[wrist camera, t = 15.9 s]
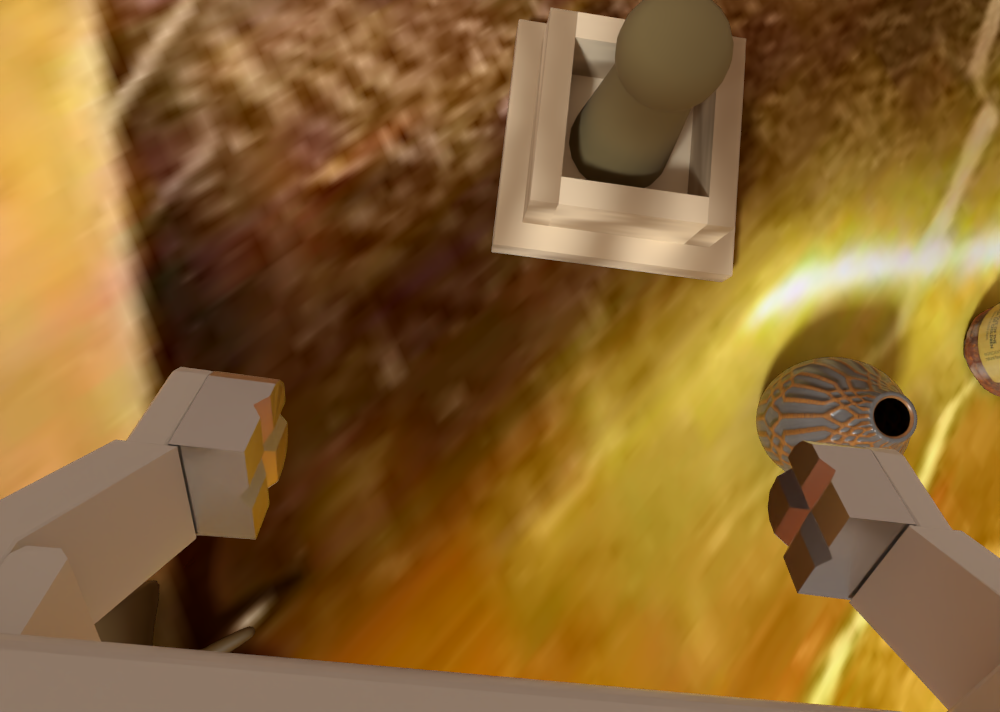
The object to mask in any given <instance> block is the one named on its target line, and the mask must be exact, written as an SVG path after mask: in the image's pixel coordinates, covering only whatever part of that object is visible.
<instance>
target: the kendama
mask: <svg viewBox="0 0 1000 712" xmlns="http://www.w3.org/2000/svg"><path fill="white" fill-rule="evenodd" d="M158 598H159V584H158V583H157V581H147V582H144V583H143V584H142V585H140V586H139V587H138V588H137V589H136V590H134V591H133V592H132V593H131V594H130V595H128V596H127V597H126V598H125V599H124V600H123V601H121V602H120V603H119V604H118V605H117V606H115V607H114V608H113V609H112V610H111V611H109V612H108V613H107V614H106V615H105V616H104V617H102V618H101V619H100V620H99V621H98V622H96V623H95V624H94V625H95V628H96V630H97V633H98V635H99V638H100V640H101V642H113V643H124V644H136V645H147V646H153V644H152V640H153V630H154V623H155V617H156V611H157V605H158ZM254 633H255V629H254V628H253V627H246V628H244V629H241V630H239V631H237V632H235V633H233V634H231V635H229V636H227V637H225V638H222V639H220V640H219V641H217V642H215V643H213V644H211V645H209V646H207V647H205V648H203V649H201V650H204V651H215V652H227V653H229V652H231V651H232V650H234V649H235V648H237V647H238V646H240V645H241V644H243V643H244V642H246V641H247V640H249V639H250V638H251V637H252V636H253V635H254Z"/></svg>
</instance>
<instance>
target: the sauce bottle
mask: <svg viewBox="0 0 1000 712" xmlns="http://www.w3.org/2000/svg"><path fill="white" fill-rule="evenodd" d="M964 344H965V346H964V358H965V359H966V361H967V364H968V366H969V368H970V370H971V372H972V373H973V374H974V376H975V378H976V379H977V380H978V381H979V383H980V385H982V386H983V388H984V389H986V390H988V391H989V392H990V393H992V394H994V395H997V396H1000V303H999V304H997V305H996V306H994V307H991V308H989V309H987V310H985V311H984V312H982V313H980V314H979V315H978V316H976V317H975V319H974V320H973V322H972V324H971V325H970V327H969V330H968V332H967V335H966V339H965V342H964Z"/></svg>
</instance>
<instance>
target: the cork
mask: <svg viewBox="0 0 1000 712" xmlns="http://www.w3.org/2000/svg"><path fill="white" fill-rule="evenodd" d="M733 46H734V42H733V37H732V33H731V29H730V24H729V21H728V20H727V18H726V16H725V14H724V13H723V11H722V9H721V8H720V7H719V6H718V5H717V4H715V3H714V2H713V1H712V0H642V1H641V2H640V3H639V4H638V5H637V6H636V7H635V8H634V9H633V10H632V11H631V12H630V13H629V14H628V16H627V18H626V19H625V21H624V23H623V25H622V27H621V29H620V32H619V34H618V37H617V43H616V50H615V64H614V65H613V67H612V68H611V70H610V71H609V72H608V74H607V75H606V77H605V78H604V79H603V81H602V82H601V83H600V85H599V86H598V88H597V89H596V90H595V92H594V93H593V94H592V96H591V97H590V99H589V100H588V101H587V103H586V104H585V106H584V107H583V108H582V110H581V111H580V112H579V114H578V115H577V117H576V119H575V121H574V123H573V125H572V127H571V131H570V139H569V146H570V152H571V157H572V160H573V161H574V163H575V165H576V167H577V169H578V171H579V172H580V173H581V174H582V175H583V176H584V177H585V178H586V179H587V180H589V181H596V182H603V183H611V184H618V185H625V186H632V187H639V188H646V187H648V186H650V185H651V184H652V183H653V182H654V181H655V180H656V179H657V178H658V177H659V176H660V175H661V174H662V172H663V170H664V168H665V166H666V164H667V162H668V160H669V157H670V155H671V153H672V151H673V149H674V146H675V144H676V142H677V140H678V138H679V135H680V133H681V131H682V129H683V126H684V124H685V122H686V120H687V118H688V115H689V113H690V111H691V109H692V107H694V106H696V105H698V104H700V103H702V102H704V101H705V100H706V99H707V98H708V97H709V96H710V95H711V94H712V93H713V92H715V91H716V90H717V88H718V87H719V86H720V85H721V83H722V82H723V80H724V78H725V76H726V74H727V72H728V70H729V68H730V65H731V61H732V56H733Z"/></svg>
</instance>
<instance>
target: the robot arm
mask: <svg viewBox="0 0 1000 712" xmlns="http://www.w3.org/2000/svg"><path fill="white" fill-rule="evenodd" d="M284 403H285V391H284V384H283V383H282V382H281V381H280V380H276V379H269V378H262V377H255V376H248V375H240V374H233V373H226V372H219V371H214V372H212V371H207V370H200V369H192V368H185V367H180V368H178V369H176V370H175V371H173V372H172V373H171V375H170V376H169V378H168V379H167V380H166V382H165V383H164V385H163V386H162V388H161V389H160V391H159V392H158V394H157V395H156V397H155V398H154V400H153V401H152V403H151V404H150V406H149V407H148V409H147V410H146V412H145V413H144V415H143V416H142V418H141V419H140V421H139V422H138V424H137V425H136V427H135V428H134V430H133V431H132V433H131V434H130V436H129V437H128V439H127V440H126V441H122V440H114V441H112V442H110V443H108V444H106V445H105V446H103V447H101V448H99V449H97V450H95V451H93V452H91V453H89V454H87V455H85V456H84V457H82V458H80V459H78V460H76V461H74V462H72V463H70V464H68V465H66V466H64V467H62V468H61V469H59V470H57V471H55V472H53V473H51V474H49V475H47V476H45V477H43V478H41V479H39V480H38V481H36V482H34V483H32V484H30V485H28V486H26V487H24V488H22V489H20V490H18V491H17V492H15V493H13V494H11V495H9V496H7V497H5V498H3V499H1V500H0V712H900V711H888V710H877V709H865V708H854V707H843V706H831V705H819V704H808V703H796V702H785V701H773V700H762V699H750V698H738V697H727V696H715V695H704V694H692V693H681V692H669V691H657V690H646V689H634V688H623V687H612V686H600V685H589V684H578V683H567V682H555V681H544V680H533V679H522V678H510V677H499V676H488V675H477V674H465V673H454V672H443V671H431V670H420V669H409V668H397V667H386V666H374V665H363V664H352V663H340V662H329V661H318V660H306V659H295V658H283V657H272V656H261V655H249V654H238V653H227V652H215V651H204V650H192V649H181V648H170V647H158V646H147V645H136V644H124V643H113V642H101V640H100V638H99V635H98V633H97V630H96V628H95V625H94V624H95V623H96V622H98V621H99V620H100V619H101V618H102V617H104V616H105V615H106V614H107V613H108V612H109V611H111V610H112V609H113V608H114V607H115V606H117V605H118V604H119V603H120V602H121V601H123V600H124V599H125V598H126V597H127V596H128V595H130V594H131V593H132V592H133V591H134V590H136V589H137V588H138V587H139V586H140V585H142V584H143V583H144V582H145V581H146V580H147V579H149V578H150V577H151V576H152V575H153V574H155V573H156V572H157V571H158V570H159V569H161V568H162V567H163V566H164V565H165V564H166V563H168V562H169V561H170V560H171V559H172V558H174V557H175V556H176V555H177V554H178V553H180V552H181V551H182V550H183V549H184V548H185V547H187V546H188V545H189V544H190V543H191V542H193V541H194V540H195V539H196V535H203V536H217V537H231V538H245V539H256V537H257V534H258V532H259V529H260V527H261V524H262V521H263V519H264V516H265V514H266V511H267V509H268V506H269V496H268V488H269V487H270V486H272V485H273V484H275V483H276V482H277V481H278V480H279V477H280V474H281V471H282V468H283V465H284V460H285V455H286V450H287V439H288V429H287V422H286V420H285V419H284V418H283V417H282V416H281V415H280V413H281V410H282V408H283V405H284ZM788 459H789V462H790V465H791V469H789V470H788V471H786V472H784V473H783V474H781V475H779V476H778V477H777V478H776V480H775V482H774V484H773V486H772V488H771V490H770V494H769V502H768V513H769V520H770V523H771V526H772V528H773V531H774V534H775V535H777V536H778V537H779V538H780V539H781V540H782V541H783V542H784V543H785V544H786V545H787V546H788V548H787V550H786V552H785V554H784V560H785V562H786V565H787V568H788V570H789V573H790V575H791V578H792V580H793V583H794V585H795V588H796V590H797V593H800V594H808V595H816V596H824V597H831V598H839V599H847V600H851V601H850V602H849V603H850V604H851V605H852V606H853V607H854V608H855V609H856V610H857V611H858V612H859V613H860V614H861V616H862V617H863V618H864V619H865V620H866V621H867V622H868V623H869V624H870V625H871V626H872V627H873V629H874V630H875V631H876V632H877V633H878V634H879V635H880V636H881V637H882V638H883V639H884V640H885V642H886V643H887V644H888V645H889V646H890V647H891V648H892V649H893V650H894V651H895V652H896V654H897V655H898V656H899V657H900V658H901V659H902V660H903V661H904V662H905V663H906V664H907V665H908V667H909V668H910V669H911V670H912V671H913V672H914V673H915V674H916V675H917V676H918V677H919V678H920V680H921V681H922V682H923V683H924V684H925V685H926V686H927V687H928V688H929V689H930V690H931V691H932V693H933V694H934V695H935V696H936V697H937V698H938V699H939V700H940V701H941V702H942V703H943V705H944V706H945V707H946V708H947V709H948V711H947V712H1000V558H999V557H997V556H996V555H994V554H993V553H992V552H990V551H989V550H987V549H986V548H985V547H983V546H982V545H981V544H979V543H978V542H976V541H975V540H974V539H972V538H971V537H969V536H968V535H967V534H965V533H964V532H963V531H957V530H952V529H951V527H950V526H949V524H948V523H947V521H946V520H945V518H944V517H943V515H942V513H941V512H940V510H939V509H938V507H937V506H936V504H935V503H934V501H933V500H932V498H931V497H930V495H929V494H928V492H927V491H926V489H925V488H924V486H923V485H922V483H921V482H920V480H919V478H918V477H917V475H916V474H915V472H914V471H913V469H912V468H911V466H910V465H909V463H908V462H907V460H906V459H905V457H904V456H903V455H902V454H901V453H899V452H898V451H896V450H895V449H885V448H875V447H858V446H850V445H840V444H831V443H822V442H813V441H803V440H802V441H801V442H799V443H798V444H797V445H795V446H794V448H793V450H792V451H791V453H790V455H789V456H788Z"/></svg>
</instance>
